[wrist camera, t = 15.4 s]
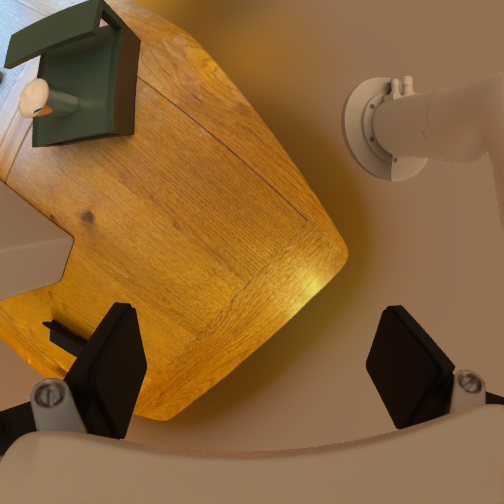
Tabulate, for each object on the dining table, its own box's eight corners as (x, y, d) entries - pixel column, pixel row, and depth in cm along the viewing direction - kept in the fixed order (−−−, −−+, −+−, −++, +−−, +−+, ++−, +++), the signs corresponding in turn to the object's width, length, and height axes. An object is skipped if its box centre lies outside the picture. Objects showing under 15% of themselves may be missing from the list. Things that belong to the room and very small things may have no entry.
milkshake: (69, 131, 28) (22, 130, 19) (51, 108, 26) (4, 103, 17) (91, 104, 27) (47, 93, 18) (71, 82, 26) (27, 68, 16)
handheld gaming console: (49, 349, 46) (33, 353, 37) (54, 318, 49) (39, 317, 40) (94, 365, 50) (86, 372, 41) (99, 334, 52) (91, 335, 43)
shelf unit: (67, 58, 30) (11, 35, 15) (140, 40, 31) (100, -4, 16) (60, 146, 35) (-5, 151, 20) (134, 134, 36) (81, 127, 21)
